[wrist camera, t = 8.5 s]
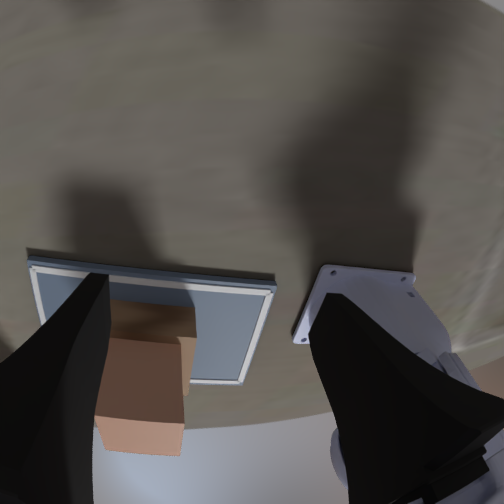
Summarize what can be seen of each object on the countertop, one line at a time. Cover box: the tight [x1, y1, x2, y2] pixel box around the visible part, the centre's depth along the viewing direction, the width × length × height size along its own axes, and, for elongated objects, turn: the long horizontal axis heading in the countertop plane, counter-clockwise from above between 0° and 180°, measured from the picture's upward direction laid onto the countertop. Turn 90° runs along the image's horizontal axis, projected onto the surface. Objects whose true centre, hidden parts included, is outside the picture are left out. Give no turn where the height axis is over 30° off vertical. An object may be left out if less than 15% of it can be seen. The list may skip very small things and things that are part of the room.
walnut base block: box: [110, 299, 197, 396], centre depth 22 cm, size 7×7×3 cm
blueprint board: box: [27, 255, 277, 385], centre depth 24 cm, size 18×12×1 cm, turn 77°
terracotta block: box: [94, 338, 185, 456], centre depth 19 cm, size 5×5×6 cm
